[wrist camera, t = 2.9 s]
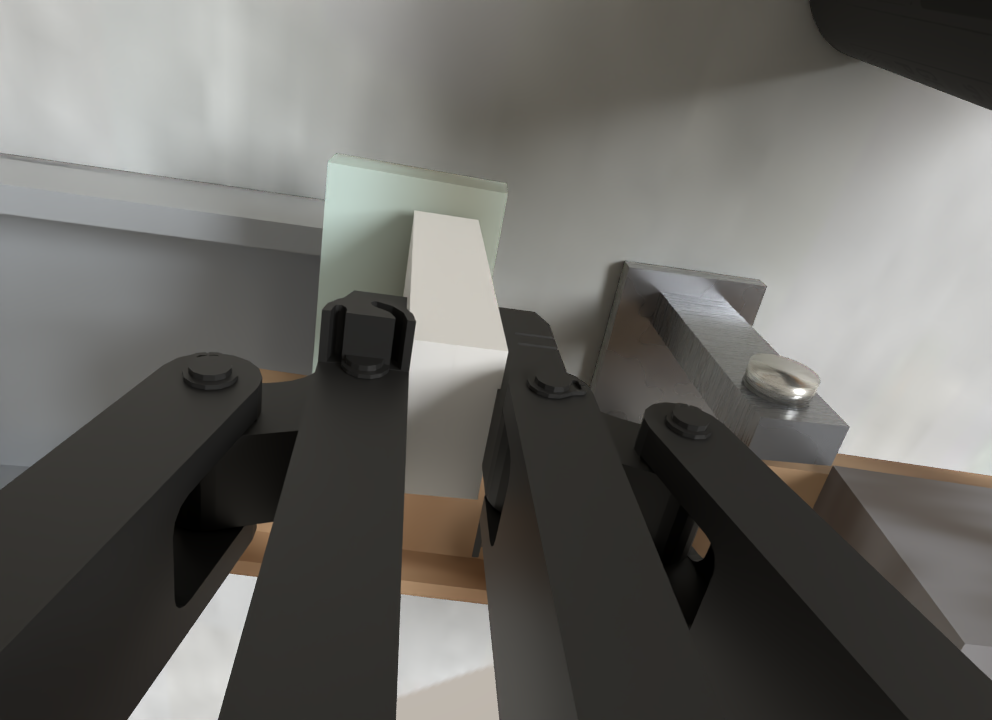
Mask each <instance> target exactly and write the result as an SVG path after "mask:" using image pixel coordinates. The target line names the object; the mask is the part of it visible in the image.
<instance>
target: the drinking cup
mask: <svg viewBox="0 0 992 720" xmlns="http://www.w3.org/2000/svg"><path fill="white" fill-rule="evenodd" d="M810 5H811V11H812V14H813V17H814V20H815V23H816V25H817V27H818V29H819V31H820V32H821V34H822V35H823V37H824V38H825V39H826V40H827V41H828V42H829V43H830V44H831V45H832V46H833V47H834V48H836V49H837V50H838V51H840V52H842V53H844V54H846V55H849V56H851V57H854V58H856V59H859V60H862V61H864V62H867V63H869V64H872V65H875V66H877V67H880V68H883V69H885V70H888V71H890V72H893V73H896V74H898V75H901V76H903V77H906V78H909V79H911V80H914V81H916V82H919V83H922V84H924V85H927V86H929V87H932V88H935V89H937V90H940V91H943V92H945V93H948V94H950V95H953V96H956V97H958V98H961V99H963V100H966V101H969V102H971V103H974V104H976V105H979V106H982V107H984V108H987V109H989V110H992V0H810Z"/></svg>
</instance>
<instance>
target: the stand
mask: <svg viewBox="0 0 992 720" xmlns="http://www.w3.org/2000/svg"><path fill="white" fill-rule="evenodd" d="M766 288H767V286H766V285H765V284H764V283H763V282H761V281H760V280H757V279H750V278H743V277H736V276H728V275H721V274H714V273H707V272H700V271H693V270H686V269H679V268H671V267H664V266H657V265H650V264H643V263H636V262H629V261H625V262H624V266H623V269H622V273H621V277H620V280H619V284H618V288H617V291H616V295H615V299H614V302H613V306H612V310H611V313H610V317H609V321H608V324H607V328H606V332H605V335H604V339H603V343H602V346H601V350H600V354H599V357H598V361H597V365H596V368H595V372H594V376H593V379H592V383H591V387H590V389H591V391H592V392H593V394H594V397H595V399H596V402H597V404H598V407H599V409H600V411H601V412H603V413H606V414H609V415H612V416H614V417H618V418H621V419H625V420H628V421H632V422H635V423H639V424H641V421H642V418H643V415H644V412H645V409H647V408H648V407H649V406H651V405H652V404H657V403H663V402H669V403H684V404H688V406H690V405H692V406H695V407H698V408H700V409H701V410H702V411H704V412H706V413H708V414H710V415H712V416H714V417H715V418H716V419H718V420H719V421H720V422H722V423H723V424H724V425H725V426H726V427H727V428H729V429H730V430H731V431H732V432H733V433H734V434H735V435H736V436H737V437H738V438H739V439H740V440H741V441H742V442H743V443H744V444H745V445H746V446H747V447H748V448H749V449H750V450H752V451H753V452H754V453H755V454H756V455H757V456H758V457H759V458H760V459H761V460H771V461H782V462H792V463H803V464H814V465H825V466H831V465H832V463H833V461H834V459H835V457H836V455H837V453H838V450H839V448H840V446H841V444H842V442H843V440H844V438H845V436H846V433H847V431H848V429H849V426H848V425H847V424H846V422H845V421H844V420H843V419H842V418H841V417H840V416H839V415H838V414H837V413H836V412H835V411H834V410H833V409H832V408H831V407H830V406H829V405H828V404H827V403H826V402H825V401H824V400H823V399H822V398H821V397H820V396H819V395H818V394H817V393H816V391H817V388H818V386H819V384H820V378H819V376H818V375H817V374H816V373H815V372H814V371H813V370H811V369H810V368H808V367H807V366H805V365H803V364H801V363H799V362H797V361H794V360H792V359H789V358H786V357H783V356H780V355H779V354H778V353H777V352H776V351H775V350H774V349H773V348H772V347H771V346H770V345H769V344H768V343H767V342H766V341H765V340H764V339H763V338H762V337H761V336H760V335H759V334H758V333H757V332H756V331H755V330H754V329H753V328H752V325H753V323H754V320H755V317H756V315H757V312H758V309H759V306H760V304H761V301H762V298H763V296H764V293H765V290H766Z"/></svg>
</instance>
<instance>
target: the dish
mask: <svg viewBox="0 0 992 720" xmlns="http://www.w3.org/2000/svg"><path fill="white" fill-rule="evenodd" d="M324 207H325V200H321V199H314V198H307V197H300V196H294V195H287V194H280V193H273V192H266V191H259V190H252V189H245V188H238V187H231V186H225V185H218V184H211V183H204V182H197V181H190V180H183V179H176V178H169V177H162V176H156V175H149V174H142V173H135V172H128V171H121V170H114V169H107V168H100V167H93V166H87V165H80V164H73V163H66V162H59V161H52V160H45V159H38V158H31V157H24V156H18V155H11V154H4V153H0V490H1V489H2V488H3V487H5V486H6V485H7V484H8V483H10V482H11V481H12V480H14V479H15V478H16V477H18V476H19V475H20V474H22V473H23V472H24V471H25V470H27V469H28V468H29V467H31V466H32V465H33V464H35V463H36V462H37V461H38V460H40V459H41V458H42V457H44V456H45V455H46V454H48V453H49V452H50V451H52V450H53V449H54V448H55V447H57V446H58V445H59V444H61V443H62V442H63V441H65V440H66V439H67V438H69V437H70V436H71V435H72V434H74V433H75V432H76V431H78V430H79V429H80V428H82V427H83V426H84V425H86V424H87V423H88V422H89V421H91V420H92V419H93V418H95V417H96V416H97V415H99V414H100V413H101V412H103V411H104V410H105V409H106V408H108V407H109V406H110V405H112V404H113V403H114V402H116V401H117V400H118V399H120V398H121V397H122V396H123V395H125V394H126V393H127V392H129V391H130V390H131V389H133V388H134V387H135V386H136V385H138V384H139V383H140V382H142V381H143V380H144V379H146V378H147V377H148V376H150V375H151V374H152V373H153V372H155V371H156V370H157V369H159V368H160V367H161V366H163V365H164V364H166V363H168V362H170V361H172V360H174V359H176V358H179V357H183V356H187V355H192V354H195V353H200V352H206V353H209V352H219V353H222V354H228V355H234V356H237V357H240V358H243V359H246V360H248V361H250V362H251V363H253V364H254V365H255V366H257V367H258V368H260V369H267V370H273V371H280V372H287V373H294V374H301V375H307V376H308V375H310V374H312V370H313V356H314V342H315V329H316V315H317V302H318V288H319V275H320V261H321V248H322V234H323V220H324Z"/></svg>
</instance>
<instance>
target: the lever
mask: <svg viewBox="0 0 992 720" xmlns="http://www.w3.org/2000/svg"><path fill="white" fill-rule="evenodd" d="M507 197H508V189H507V183H502V182H497V181H491V180H485V179H480V178H474V177H468V176H463V175H457V174H451V173H446V172H440V171H434V170H429V169H423V168H417V167H412V166H406V165H400V164H395V163H389V162H383V161H378V160H372V159H366V158H361V157H355V156H349V155H344V154H338V153H336V154H335V155H334V156H333V157H332V158H331V159H330V160H329V161H328V166H327V180H326V193H325V207H324V220H323V234H322V248H321V261H320V275H319V288H318V302H317V315H316V329H315V342H314V356H313V370H312V374H313V373H314V372H315V370H316V366H317V363H318V353H319V340H320V327H321V314H322V309H323V308H324V307H325V305H326V304H327V303H329V302H331V301H334V300H336V299H339V298H344V297H345V296H347V295H348V294H350V293H351V292H353V291H354V290H356V291H364V292H371V293H379V294H387V295H394V296H402V297H403V293H404V286H405V278H406V270H407V263H408V255H409V247H410V240H411V232H412V224H413V217H414V210H416V211H422V212H429V213H436V214H442V215H449V216H455V217H462V218H469V219H475V220H479V224H480V229H481V233H482V238H483V242H484V246H485V251H486V255H487V260H488V264H489V268H490V273H491V277H493V271H494V266H495V261H496V255H497V250H498V245H499V239H500V234H501V229H502V223H503V218H504V213H505V207H506V202H507ZM259 369H260V368H259ZM260 372H261V375H262V383H274V382H284V381H292V380H296V379H300V378H304V377H306V376H307V375H301V374H294V373H287V372H280V371H273V370H267V369H260ZM762 461H763V462H764V463H765V464H766V465H767V466H768V467H769V468H770V469H771V470H772V471H773V472H774V473H776V474H777V475H778V476H779V477H780V478H781V479H782V480H783V481H784V482H785V483H786V484H787V485H788V486H789V487H790V488H791V489H792V490H793V491H794V492H795V493H796V494H797V495H799V496H800V497H801V498H802V499H803V500H804V501H805V502H806V503H807V504H808V505H809V506H810V507H811V508H812V509H813V510H814V511H815V512H816V513H817V514H818V515H819V516H820V517H822V518H823V519H824V520H825V521H826V522H827V523H828V524H829V525H830V526H831V527H832V528H833V529H834V530H835V531H836V532H837V533H838V534H839V535H840V536H841V537H842V538H843V539H844V540H846V541H847V542H848V543H849V544H850V545H851V546H852V547H853V548H854V549H855V550H856V551H857V552H858V553H859V554H860V555H861V556H862V557H863V558H864V559H865V560H866V561H867V562H869V563H870V564H871V565H872V566H873V567H874V568H875V569H876V570H877V571H878V572H879V573H880V574H881V575H882V576H883V577H884V578H885V579H886V580H887V581H888V582H889V583H890V584H891V585H893V586H894V587H895V588H896V589H897V590H898V591H899V592H900V593H901V594H902V595H903V596H904V597H905V598H906V599H907V600H908V601H909V602H910V603H911V604H912V605H913V606H914V607H916V608H917V609H918V610H919V611H920V612H921V613H922V614H923V615H924V616H925V617H926V618H927V619H928V620H929V621H930V622H931V623H932V624H933V625H934V626H935V627H936V628H937V629H939V630H940V631H941V632H942V633H943V634H944V635H945V636H946V637H947V638H948V639H949V640H950V641H951V642H952V643H953V644H954V645H955V646H956V647H957V648H958V649H959V650H960V651H961V652H963V653H964V654H965V655H966V656H967V657H968V658H969V659H970V660H971V661H972V662H973V663H974V664H975V665H976V666H977V667H978V668H979V669H980V670H981V671H982V672H983V673H984V674H986V675H987V676H988V677H989V678H990V679H991V680H992V476H988V475H981V474H974V473H968V472H961V471H954V470H947V469H940V468H934V467H927V466H920V465H913V464H906V463H900V462H893V461H886V460H879V459H872V458H866V457H859V456H852V455H845V454H838V453H837V455H836V457H835V459H834V461H833V463H832V465H831V466H825V465H814V464H803V463H792V462H782V461H771V460H762ZM484 496H485V489H484V480H483V475H482V480H481V485H480V490H479V494H478V499H477V500H475V499H463V498H452V497H440V496H430V495H419V494H408V493H404V519H403V545H402V571H401V594H405V595H413V596H422V597H430V598H438V599H447V600H455V601H463V602H472V603H480V604H488V600H487V590H486V580H485V569H484V559H483V549H482V547H481V549H480V553H479V557H472V552H473V547H474V543H475V538H476V533H477V529H478V524H479V519H480V514H481V510H482V505H483V500H484ZM272 524H273V522H269V523H262V524H257V529H256V532H255V534H254V537H253V540H252V541H251V543H250V544H249V546H248V547H247V549H246V550H245V551H244V553H243V554H242V556H241V557H240V559H239V560H238V561H237V563H236V564H235V566H234V567H233V569H232V570H231V571H230V574H238V575H246V576H255V577H258V574H259V571H260V567H261V564H262V560H263V556H264V553H265V549H266V546H267V542H268V539H269V535H270V531H271V528H272ZM709 546H710V541H709V539H708V538H707V536H706V535H705V533H704V532H703V531H702V530H701V528H700V527H699V528H698V531H697V533H696V536H695V539H694V541H693V544H692V547H693V548H694V549H695V550H696V552H697V553H698V554H699V555H700V556H701V557H702V558H704V557H705V555H706V553H707V551H708V548H709Z"/></svg>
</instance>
